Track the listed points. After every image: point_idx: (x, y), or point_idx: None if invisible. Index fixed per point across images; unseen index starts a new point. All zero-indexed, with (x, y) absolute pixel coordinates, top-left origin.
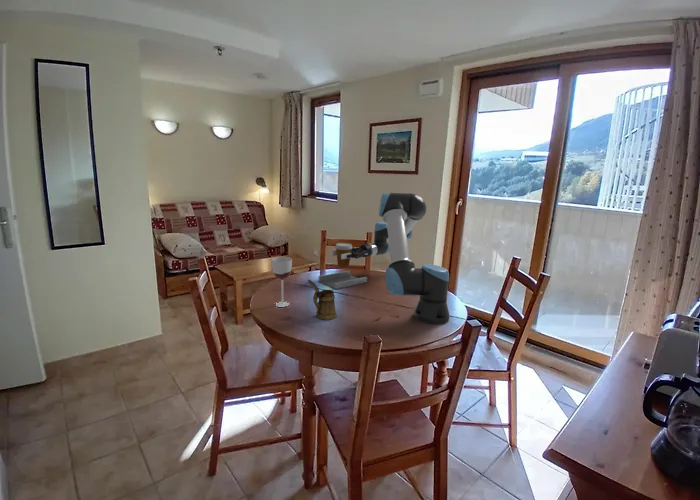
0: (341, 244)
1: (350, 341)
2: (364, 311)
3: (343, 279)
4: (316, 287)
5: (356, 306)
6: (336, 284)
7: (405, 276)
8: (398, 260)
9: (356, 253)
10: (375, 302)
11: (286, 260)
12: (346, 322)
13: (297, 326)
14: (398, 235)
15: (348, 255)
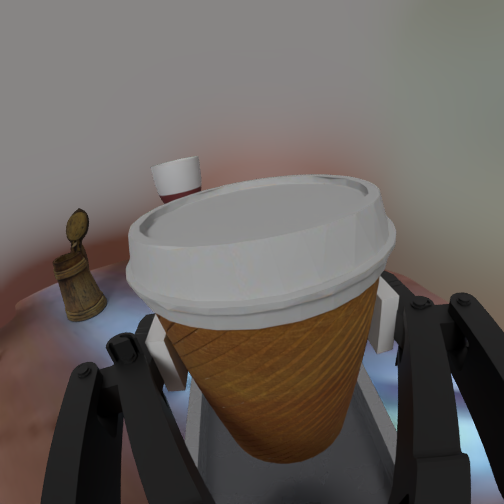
0: (311, 197)
1: (23, 304)
2: (26, 366)
3: (323, 490)
4: (67, 227)
5: (52, 371)
6: (192, 382)
7: None
8: None
9: (90, 387)
10: (17, 422)
11: (187, 169)
12: (43, 321)
13: (105, 275)
14: None
15: (144, 319)
